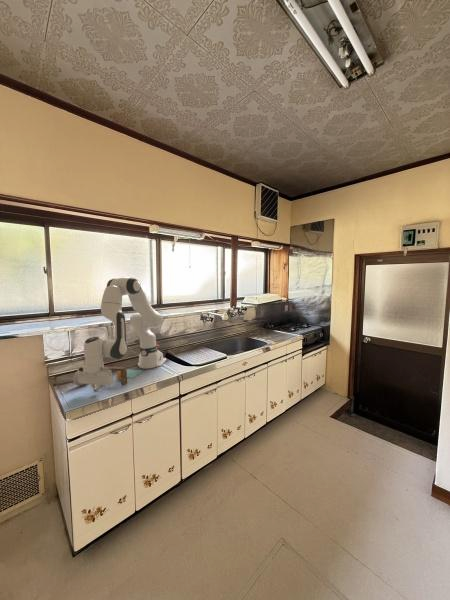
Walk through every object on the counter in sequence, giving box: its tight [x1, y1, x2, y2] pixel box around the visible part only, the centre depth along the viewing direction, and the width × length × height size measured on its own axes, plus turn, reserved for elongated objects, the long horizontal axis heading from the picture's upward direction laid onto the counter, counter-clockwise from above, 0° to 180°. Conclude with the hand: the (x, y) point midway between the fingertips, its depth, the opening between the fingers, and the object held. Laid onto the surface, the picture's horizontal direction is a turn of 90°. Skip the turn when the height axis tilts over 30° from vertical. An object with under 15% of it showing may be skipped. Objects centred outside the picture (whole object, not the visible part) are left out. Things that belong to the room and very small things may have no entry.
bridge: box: [104, 365, 128, 386], centre depth 148 cm, size 3×15×10 cm, turn 76°
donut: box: [72, 370, 86, 387], centre depth 147 cm, size 10×4×10 cm, turn 136°
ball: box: [116, 371, 121, 380], centre depth 155 cm, size 6×6×6 cm
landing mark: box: [115, 369, 145, 379], centre depth 163 cm, size 13×13×1 cm
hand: (96, 391), depth 134 cm, fingers closed
